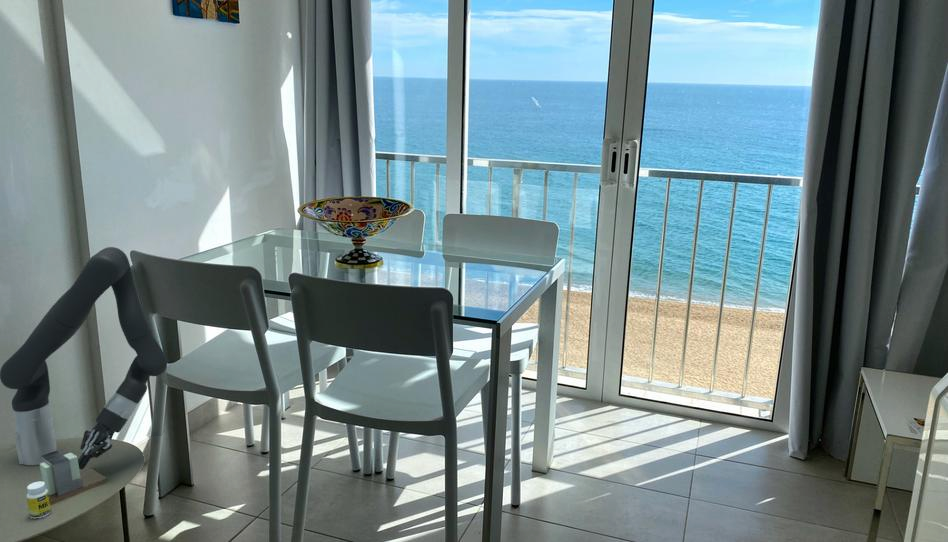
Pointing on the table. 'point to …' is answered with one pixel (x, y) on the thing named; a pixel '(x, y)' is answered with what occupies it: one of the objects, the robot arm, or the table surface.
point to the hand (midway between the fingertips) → (78, 467)
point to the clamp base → (69, 477)
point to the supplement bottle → (38, 500)
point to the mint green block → (48, 475)
